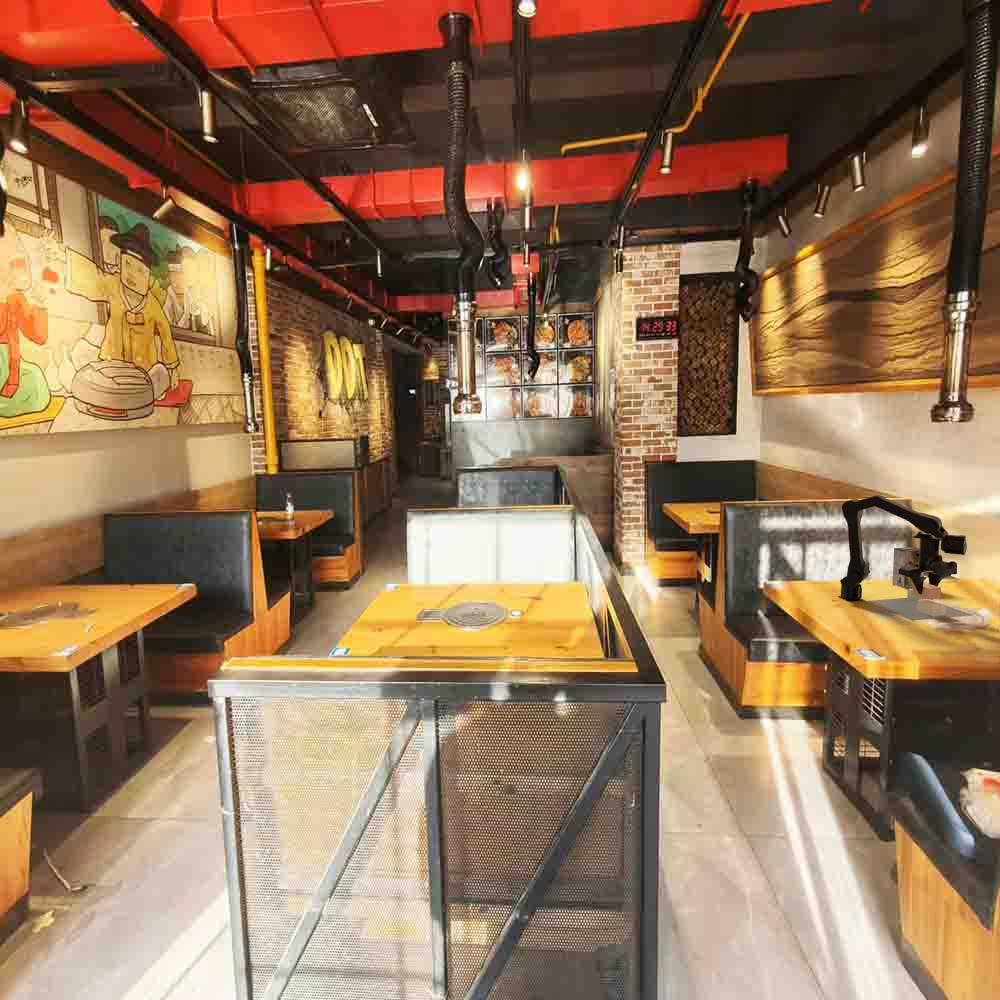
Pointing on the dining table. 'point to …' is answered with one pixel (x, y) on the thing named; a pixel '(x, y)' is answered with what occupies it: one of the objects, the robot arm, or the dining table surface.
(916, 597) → the sage brick
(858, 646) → the dining table surface
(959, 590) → the dining table surface
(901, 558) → the coffee box
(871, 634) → the dining table surface
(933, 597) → the terracotta brick
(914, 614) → the baseplate
